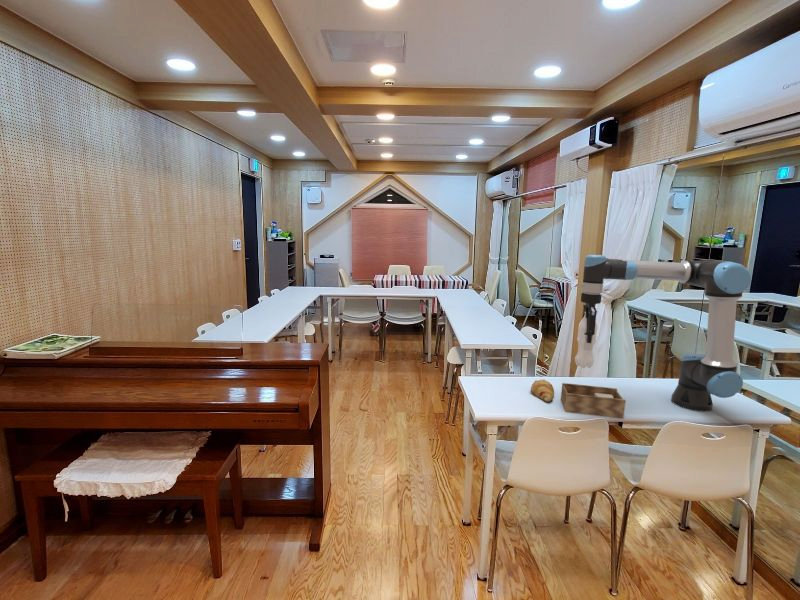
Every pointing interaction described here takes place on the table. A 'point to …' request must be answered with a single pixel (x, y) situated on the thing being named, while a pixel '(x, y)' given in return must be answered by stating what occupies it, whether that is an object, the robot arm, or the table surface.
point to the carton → (603, 395)
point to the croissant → (543, 390)
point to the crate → (592, 400)
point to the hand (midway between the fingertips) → (585, 347)
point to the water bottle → (583, 356)
